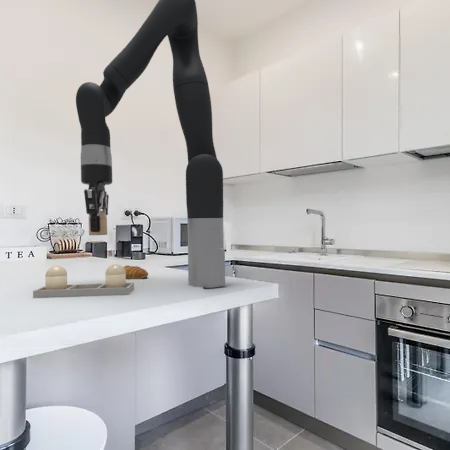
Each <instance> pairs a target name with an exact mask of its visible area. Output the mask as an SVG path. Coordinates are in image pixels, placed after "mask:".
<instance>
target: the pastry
mask: <svg viewBox="0 0 450 450" xmlns="http://www.w3.org/2000/svg"><path fill="white" fill-rule="evenodd" d="M122 267H123V268H124V269H125V272H126V280H141V279H145V278H146V279H147V278H148V276H149V273H148V271H147V270H146V269H144V268H142V267H140V266H137V265H135V266H133V265H129V264H128V265H125V266H122Z"/></svg>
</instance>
